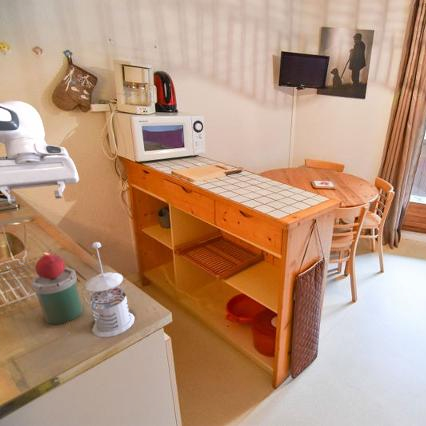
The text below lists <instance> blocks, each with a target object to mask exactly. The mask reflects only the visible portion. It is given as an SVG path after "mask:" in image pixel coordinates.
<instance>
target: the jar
mask: <svg viewBox="0 0 426 426" xmlns="http://www.w3.org/2000/svg"><path fill="white" fill-rule="evenodd" d="M77 280H78V278H77V273H76V270H75V269H74V268H71V267H68V266H67V267H66V266H65V269H64V272H63V273H62V274H61V275H60V276H59V277H57V278H56V279H54V280H51V279H46V278H43V277H41V276H39V275H38V274H36V275H35V276H33V278H32V279H31V282H30V284H31V287H32V290H33V292H34V293H35V294H36V297H37V300H38V303H39V305H40V309H41V312H42V315H43V318H44V321H45V322H46V323H47V324H49V325H60V324H66V323H68V322H70V321H73V320H74V319H76V318H78V317H79V316H81V314H82V313H83V311H84V306H83V302H82V298H81V294H80V290H79V285H78V283H77Z"/></svg>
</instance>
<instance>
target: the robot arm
mask: <svg viewBox="0 0 426 426" xmlns="http://www.w3.org/2000/svg"><path fill="white" fill-rule="evenodd" d="M45 131H46V130H45V127H44V124H43V121H42V117H41V116H40V114H39V112H38V111H37V109H36V108H35V107H33V106H32V105H30V104H29V103H27V102H24V101H20V100H7V101H4V102H0V143H1V144H3V145H4V148H5V155H6V156H0V192H1V193H2V194H3V195H4V196H5V197H6V199H7V202H8V204H9V205H14V204H18V198H17V196H16V195H15V194H13V195H12V194H10V193H11V191H12V190H20V189H32V188H41V187H51V186H58V189H57V190H53V193H54V198H55V199H56V200H57V199H58V200H59V199H63V192H64V190H65V189H66V185H71V184H72V185H73V184H77V183H78V182H80V177H79V173H78V170H77V168H76V165H75V163H74V161H73V159H72V158H71V157H70V155H69V152H68V151H67V149H66V148H65V147H64V146H58V145H52V144H48V143H47V142H46V140H45V138H46V137H45V136H46V132H45Z"/></svg>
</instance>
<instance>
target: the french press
mask: <svg viewBox="0 0 426 426" xmlns="http://www.w3.org/2000/svg"><path fill="white" fill-rule="evenodd" d="M101 247H102V244H101V242H99V241H95V242H93V243H92V244H91V248H92V249H95V250H96V253H97V257H98V261H99V266H100V270H101V273H99V274H97V275H95V276H93V277H91V278H90V279H88V280H87V281H86V282H85V285H84V286H83V288H82V296H83V299H84V300H85V302H86V304H87V305H89V307H90V308H91V311H92V316H93V319H94V324H93V325H92V329H91V331H92V333H93V335H94V336H97V337H98V338H110V337H115V336H118V335H120V334H122V333H124V332H125V331H127V330H129V329H130V328H131V327H132V326H133V324H135V320H136V319H135V315H134V314H133V313H131V312H130V310H129V304H128V298H127V294H126V293H125V292H124V289H123V288H122V287H120V285H121V284H122V283H123V280H124V277H123V275H122V274H121V273H118V272H110V271H108V272H104V271H103V266H102V261H101V258H100V253H99V248H101ZM85 289H86V290H87V291H88V295H89V296H90V302H89V301H88V300H87V298H86V296H85ZM91 292H92V293H93V294H92V293H91ZM98 305H99V308H98Z"/></svg>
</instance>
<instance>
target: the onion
mask: <svg viewBox="0 0 426 426" xmlns="http://www.w3.org/2000/svg"><path fill="white" fill-rule="evenodd" d="M42 255H43V256H41V257H40V258H39V259H38V260H37V262H36V264H35V273H36V275H39V276H41V277H43V278H46V279H51V280H54V279H56V278H57V277H59V276H60V275H61V274H62V273H63V272H64V269H65V268H66V263H65V261H64V259H62V257H60V256H58V255H55V254H51V253H48V252H43V253H42Z"/></svg>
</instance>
